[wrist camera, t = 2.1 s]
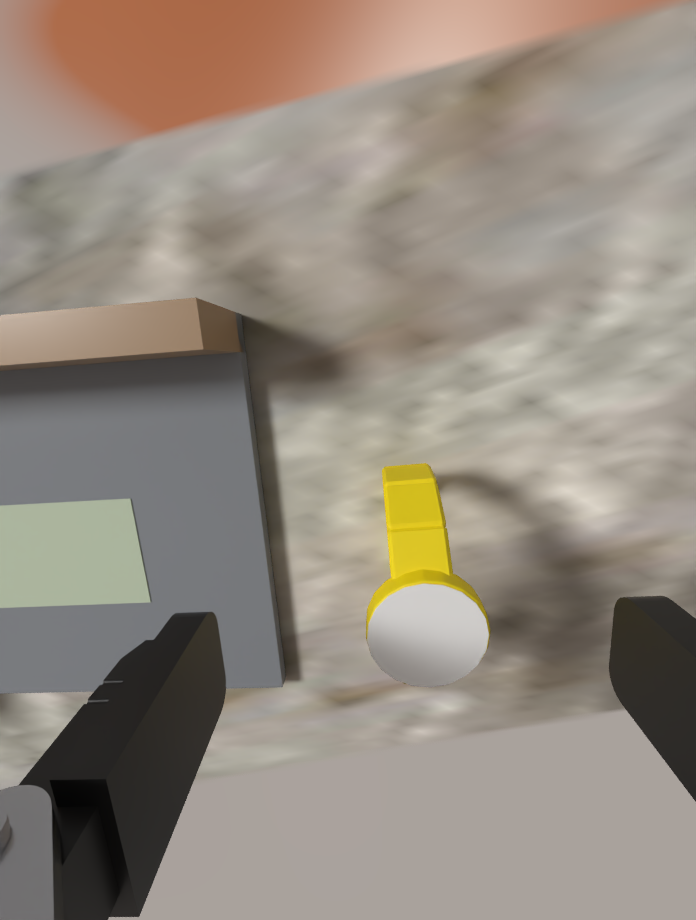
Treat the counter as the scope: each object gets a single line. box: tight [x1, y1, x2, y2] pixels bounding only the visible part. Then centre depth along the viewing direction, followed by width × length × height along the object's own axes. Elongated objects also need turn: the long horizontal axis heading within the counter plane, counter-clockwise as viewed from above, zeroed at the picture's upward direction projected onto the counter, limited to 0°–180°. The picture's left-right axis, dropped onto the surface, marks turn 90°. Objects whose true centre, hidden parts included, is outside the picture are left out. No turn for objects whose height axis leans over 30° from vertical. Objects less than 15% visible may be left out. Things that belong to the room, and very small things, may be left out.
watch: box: [366, 463, 490, 687], centre depth 12 cm, size 6×3×6 cm, turn 6°
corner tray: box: [0, 298, 286, 693], centre depth 14 cm, size 16×14×4 cm
